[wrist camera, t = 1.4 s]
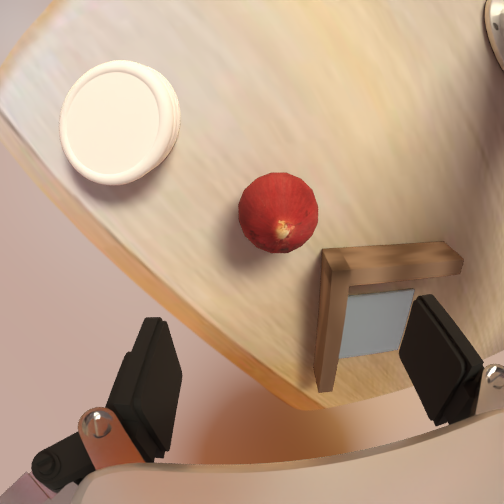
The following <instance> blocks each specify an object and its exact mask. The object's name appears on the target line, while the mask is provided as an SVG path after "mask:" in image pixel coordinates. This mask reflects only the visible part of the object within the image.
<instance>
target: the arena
mask: <svg viewBox="0 0 504 504" xmlns="http://www.w3.org/2000/svg"><path fill="white" fill-rule="evenodd" d="M463 262H464V259H463V258H462V257H461V256H460V255H459V254H458V253H456V252H455V251H454V250H453V249H452V248H451V247H450V246H449V245H447V244H446V243H445V242H428V243H411V244H395V245H378V246H362V247H346V248H329V249H322V265H321V283H320V299H319V313H318V325H317V337H316V348H315V358H314V367H313V368H314V373H315V378H316V383H317V388H318V393H322V392H330V391H332V390H333V385H334V380H335V375H336V370H337V364H338V359H339V353H340V347H341V341H342V335H343V329H344V322H345V315H346V308H347V300H348V292H349V286H356V285H367V284H377V283H387V282H397V281H406V280H415V279H424V278H433V277H441V276H449V275H457V274H460V273H461V269H462V266H463Z"/></svg>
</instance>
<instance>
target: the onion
mask: <svg viewBox="0 0 504 504" xmlns="http://www.w3.org/2000/svg"><path fill="white" fill-rule="evenodd" d="M238 209H239V222H240V225H241V228H242V230H243V233H244V235H245V236H246V237H247V238H248V239H249V240H250V241H251V242H252V243H253V244H254V245H255V246H256V247H257V248H259V249H262V250H264V251H267V252H270V253H289V252H291V251H293V250H295V249H297V248H299V247H301V246H302V245H303V244H304V243H305V242H306V241H307V240H308V239H309V238H310V237H311V236H312V235H313V232H314V230H315V228H316V226H317V223H318V205H317V202H316V199H315V196H314V193H313V191H312V189H311V188H310V187H309V186H308V185H307V184H306V183H305V182H304V181H303V180H302V179H300V178H298V177H296V176H293V175H291V174H288V173H269V174H266V175H264V176H261V177H259V178H257V179H256V180H255V181H253V182H252V183H251V184H250V185H249V186H248V187H247V188H246V189H245V190H244V192H243V194H242V197H241V199H240V202H239V204H238Z"/></svg>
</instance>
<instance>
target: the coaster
mask: <svg viewBox="0 0 504 504" xmlns="http://www.w3.org/2000/svg"><path fill="white" fill-rule="evenodd" d="M180 116H181V115H180V106H179V102H178V98H177V96H176V93H175V91H174V89H173V88H172V86H171V84H170V83H169V82H168V81H167V79H166V78H165V77H164V76H163V75H162V74H160V73H159V72H157V71H156V70H154V69H152V68H150V67H148V66H145V65H142V64H139V63H136V62H132V61H126V60H116V61H110V62H106V63H103V64H101V65H98V66H96V67H94V68H92V69H91V70H89V71H88V72H86V73H85V74H84V75H83V76H82V77H80V78H79V79H78V80H77V82H76V83H75V84H74V85H73V86H72V88H71V89H70V91H69V93H68V94H67V96H66V98H65V100H64V103H63V106H62V109H61V113H60V119H59V134H60V141H61V145H62V148H63V151H64V153H65V155H66V157H67V159H68V161H69V162H70V163H71V165H72V166H73V167H74V168H75V169H76V170H77V172H79V173H80V174H81V175H82V176H84V177H85V178H87V179H89V180H90V181H93V182H95V183H99V184H103V185H122V184H127V183H130V182H133V181H135V180H137V179H139V178H141V177H142V176H144V175H145V174H147V173H148V172H150V171H151V170H152V169H154V168H155V167H157V166H158V165H159V164H160V163H161V162H162V161H163V160H164V159H165V158H166V157H167V155H168V154H169V153H170V151H171V149H172V148H173V146H174V144H175V142H176V139H177V136H178V133H179V128H180Z"/></svg>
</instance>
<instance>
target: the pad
mask: <svg viewBox="0 0 504 504" xmlns="http://www.w3.org/2000/svg"><path fill="white" fill-rule="evenodd" d="M414 291H415V290H414V289H407V290H398V291H389V292H380V293H371V294H361V295H351V296H348V300H347V308H346V315H345V322H344V329H343V335H342V341H341V347H340V353H339V359H340V358H348V357H355V356H362V355H369V354H375V353H382V352H388V351H393V350H398V348H399V344H400V341H401V338H402V335H403V331H404V328H405V325H406V321H407V318H408V314H409V310H410V307H411V303H412V299H413V295H414Z"/></svg>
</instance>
